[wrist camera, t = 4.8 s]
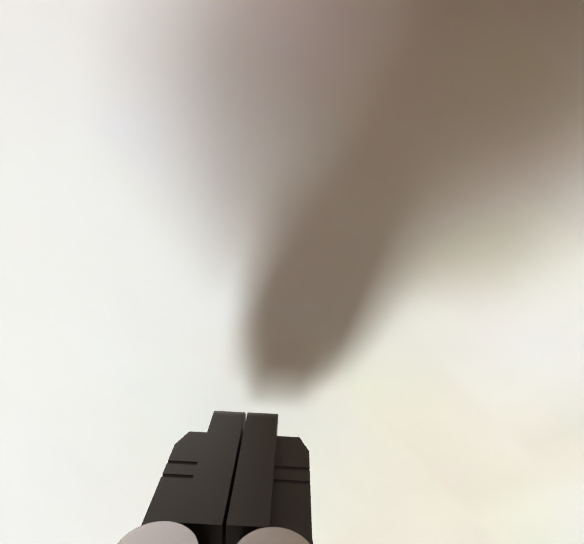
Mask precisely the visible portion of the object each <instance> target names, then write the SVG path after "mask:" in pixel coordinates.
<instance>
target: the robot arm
mask: <svg viewBox="0 0 584 544" xmlns="http://www.w3.org/2000/svg"><path fill="white" fill-rule="evenodd" d="M277 428H278V414H266V413H247V418H246V413H245V412H226V411H214V413H213V416H212V419H211V422H210V426H209V429H208V432H188V433H187V434H186V435H185V436H184V437H183V438H182V439H180V440H179V441H178V442H177V443H176V444H175V445H174V448H173V450H172V453H171V455H170V457H169V460H168V463H167V465H166V467H165V469H164V472H163V476H162V477H161V479H160V481H159V484H158V486H157V489H156V491H155V494H154V496H153V498H152V501H151V503H150V506H149V508H148V510H147V513H146V515H145V518H144V520H143V522H142V525H141V526H140V527H138V528H135V529H134V530H132V531H131V532H129V533H128V534H126V535H125V536H124V537H123V538H122V539H121V540H120V541H119V542H118V544H313V541H312V523H311V495H310V471H309V469H310V466H309V451H308V449H307V448H306V446H305V445H304V443H303V442H302V440H301V439H300V437H284V436H277Z"/></svg>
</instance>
